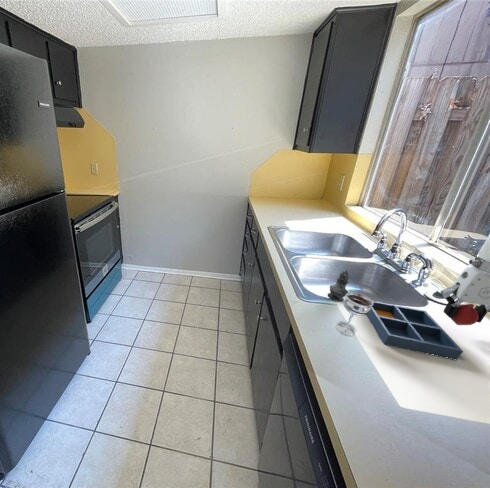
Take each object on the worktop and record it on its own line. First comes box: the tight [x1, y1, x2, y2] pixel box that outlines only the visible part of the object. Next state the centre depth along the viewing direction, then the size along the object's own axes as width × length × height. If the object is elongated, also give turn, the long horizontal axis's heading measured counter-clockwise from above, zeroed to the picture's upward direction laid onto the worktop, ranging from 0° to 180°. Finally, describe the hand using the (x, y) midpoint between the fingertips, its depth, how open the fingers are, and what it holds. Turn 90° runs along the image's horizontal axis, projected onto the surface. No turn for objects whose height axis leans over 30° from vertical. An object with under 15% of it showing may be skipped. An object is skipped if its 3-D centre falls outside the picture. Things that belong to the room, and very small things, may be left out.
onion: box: [450, 303, 479, 326], centre depth 78 cm, size 6×6×8 cm
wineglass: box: [335, 291, 374, 337], centre depth 77 cm, size 7×7×12 cm
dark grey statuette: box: [327, 269, 351, 303], centre depth 92 cm, size 6×6×12 cm
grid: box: [365, 300, 464, 361], centre depth 80 cm, size 17×17×4 cm
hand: (461, 316), depth 79 cm, fingers closed on onion, 5 cm apart
